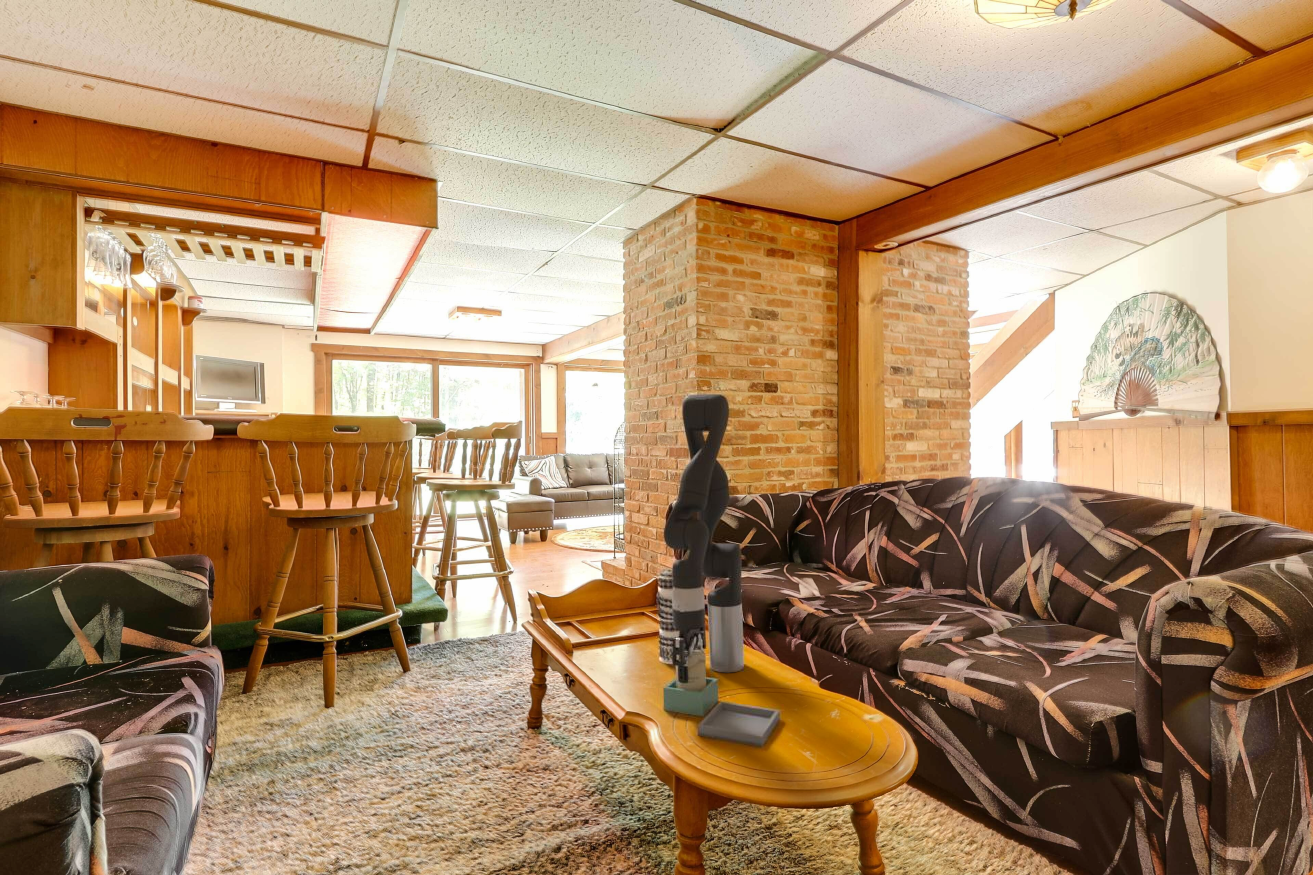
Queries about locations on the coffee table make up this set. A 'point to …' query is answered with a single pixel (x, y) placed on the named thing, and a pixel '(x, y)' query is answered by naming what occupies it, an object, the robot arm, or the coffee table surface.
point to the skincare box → (694, 672)
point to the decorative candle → (666, 616)
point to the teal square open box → (691, 698)
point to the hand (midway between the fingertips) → (690, 676)
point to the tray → (739, 723)
